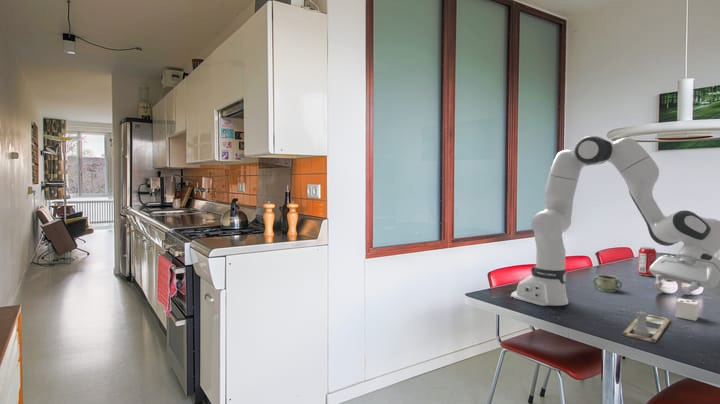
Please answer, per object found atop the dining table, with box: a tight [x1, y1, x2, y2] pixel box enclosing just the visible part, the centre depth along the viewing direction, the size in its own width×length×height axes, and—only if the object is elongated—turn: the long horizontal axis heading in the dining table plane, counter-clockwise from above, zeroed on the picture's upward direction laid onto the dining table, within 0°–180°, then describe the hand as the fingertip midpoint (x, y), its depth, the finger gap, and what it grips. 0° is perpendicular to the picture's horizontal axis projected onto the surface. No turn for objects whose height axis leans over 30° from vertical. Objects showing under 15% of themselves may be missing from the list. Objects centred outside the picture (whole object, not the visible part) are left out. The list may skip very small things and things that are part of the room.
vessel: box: [592, 274, 623, 293], centre depth 192 cm, size 12×9×6 cm
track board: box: [622, 314, 671, 343], centre depth 142 cm, size 9×28×1 cm, turn 135°
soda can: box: [637, 246, 657, 277], centre depth 221 cm, size 8×8×15 cm
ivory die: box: [675, 297, 700, 322], centre depth 154 cm, size 6×6×6 cm
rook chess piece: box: [632, 310, 650, 338], centre depth 135 cm, size 4×4×8 cm
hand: (670, 289), depth 138 cm, fingers open, 8 cm apart
